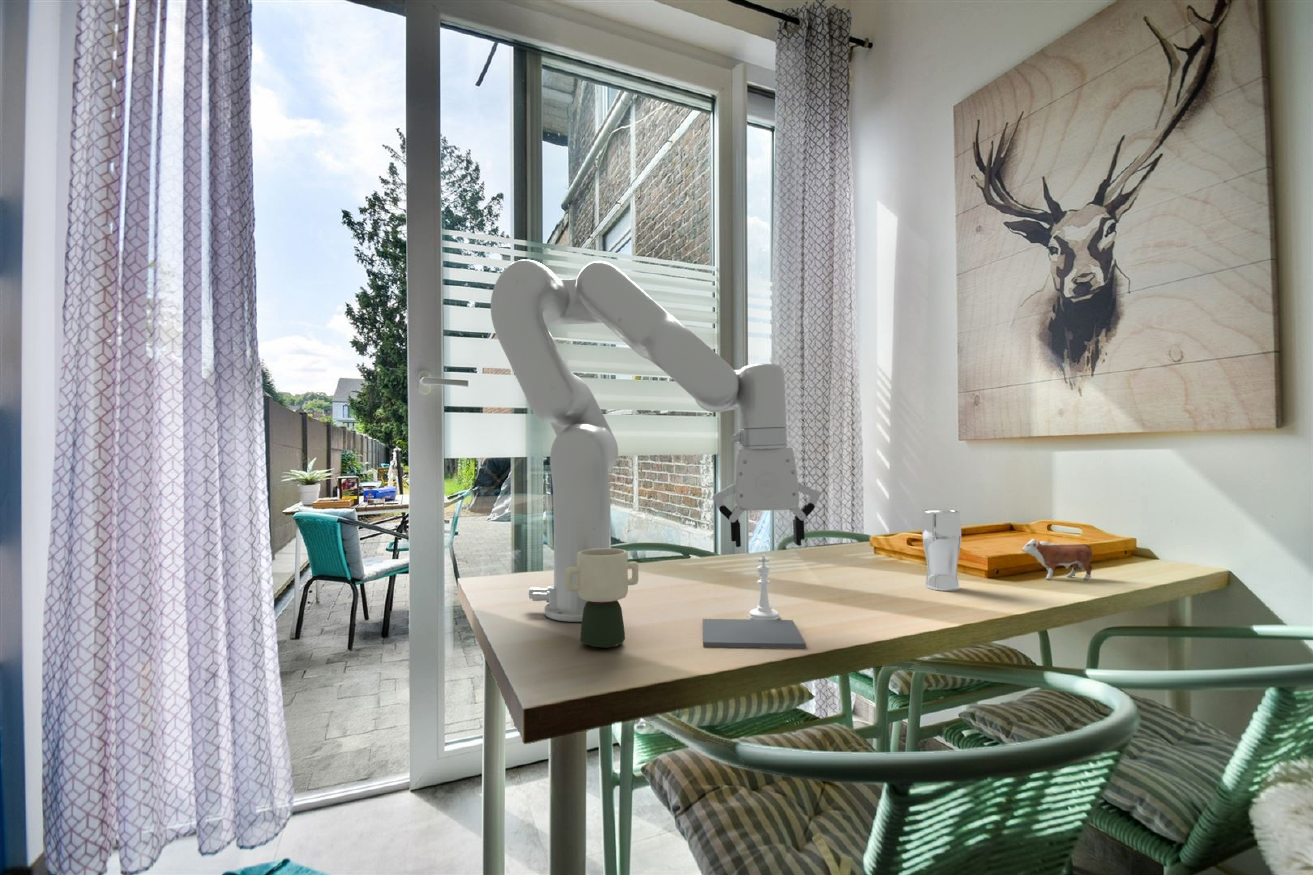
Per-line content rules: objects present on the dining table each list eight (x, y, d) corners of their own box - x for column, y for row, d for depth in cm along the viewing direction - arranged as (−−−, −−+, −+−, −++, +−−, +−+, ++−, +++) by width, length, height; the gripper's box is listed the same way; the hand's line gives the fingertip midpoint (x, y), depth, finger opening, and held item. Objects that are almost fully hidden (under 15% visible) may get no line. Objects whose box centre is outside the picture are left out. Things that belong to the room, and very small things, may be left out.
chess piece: (779, 621, 98) (778, 558, 98) (747, 620, 99) (747, 557, 99) (779, 613, 103) (778, 553, 103) (749, 612, 104) (749, 552, 104)
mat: (703, 646, 86) (703, 642, 86) (702, 622, 98) (702, 618, 98) (806, 648, 85) (805, 643, 85) (792, 623, 97) (792, 619, 97)
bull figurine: (1019, 575, 133) (1019, 537, 133) (1087, 577, 131) (1087, 538, 131) (1029, 579, 129) (1028, 540, 129) (1099, 581, 127) (1098, 541, 127)
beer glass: (916, 587, 122) (915, 511, 122) (932, 582, 126) (931, 508, 127) (953, 593, 117) (951, 513, 117) (968, 587, 121) (966, 510, 122)
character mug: (629, 633, 92) (628, 545, 92) (648, 647, 86) (648, 552, 86) (557, 643, 88) (557, 550, 88) (572, 658, 81) (572, 558, 81)
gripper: (711, 441, 99) (715, 550, 98) (821, 437, 97) (826, 547, 97) (710, 442, 106) (713, 543, 106) (812, 438, 105) (817, 540, 104)
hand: (767, 545), depth 101 cm, fingers open, 9 cm apart
